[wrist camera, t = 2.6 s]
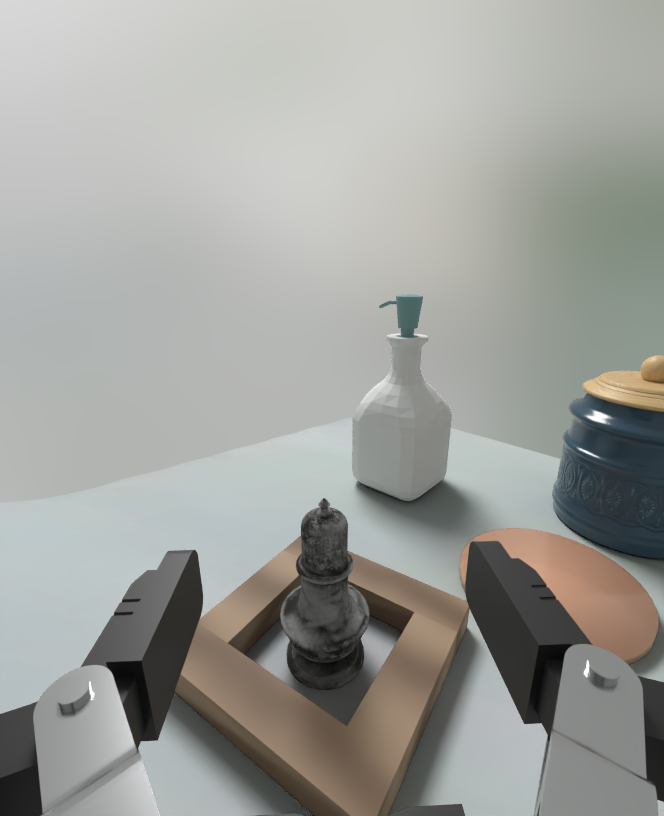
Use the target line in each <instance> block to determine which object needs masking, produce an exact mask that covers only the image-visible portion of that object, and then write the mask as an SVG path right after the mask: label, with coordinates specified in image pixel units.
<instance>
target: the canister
mask: <svg viewBox="0 0 664 816" xmlns="http://www.w3.org/2000/svg"><path fill="white" fill-rule="evenodd" d="M583 389H584V390H585V391H586V392H587V393H586V394H585V396H584V397H581V398H578V399H576V400H574V401H573V402H571V403H570V405H569V410H570V412H571V413H572V415H573V420H572V424H571V427H570V429H568V430H567V431H566V432H565V433H564V435H563V440H564V446H563V452H562V456H561V461H560V466H559V472H558V477H557V480H556V481H555V483H554V489H553V500H554V501H553V507H554V510H555V512H556V514H557V515H558V517H559V518H560V519H561V520H562V521H563V522H564V523H565V524H566V525H568V526H569V527H570V528H571V529H573V530H574V531H576V532H577V533H579V534H581V535H582V536H584V537H586V538H588V539H590V540H592V541H594V542H596V543H599V544H601V545H603V546H606V547H609V548H612V549H615V550H618V551H621V552H624V553H628V554H632V555H637V556H642V557H648V558H658V559H664V356H653V357H650V358H648V359H647V360H645V361H644V363H643V364H642V366H641V369H640V371H612V372H606V373H604V374H602V375H601V376H600V377H597V378H594V379H591V380H588V381H586V382H585V383H584V384H583Z"/></svg>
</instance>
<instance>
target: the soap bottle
mask: <svg viewBox="0 0 664 816" xmlns="http://www.w3.org/2000/svg"><path fill="white" fill-rule="evenodd" d="M396 297H397V301H388V302H386V303H384V304H382V305H380V308H382V307H385V306H387V305H389V304H397V314H398V327H399V328H401V334H390V335H387V341H388V342H389V343H390V344H391V346H392V361H391V369H390V372H389V374H388V376H387V377H386V378H385V379H384V380H383V381H382V382H380V383H379V384H378V385H376V386H375V387H374V388H373V389H371V391H369V392H368V393H367V395H366V396H365V397H364V399H363V400H362V402H361V403H360V405H359V406H358V408H357V410H356V412H355V414H354V416H353V452H352V470H353V474H354V476H355V478H356V479H357V480H358V481H359V482H361V483H362V484H364V485H366V486H369V487H371V488H374V489H376V490H378V491H381V492H383V493H386V494H388V495H391V496H393V497H395V498H398V499H400V500H404V501H412V500H414V499H416V498H418V497H420V496H421V495H423V494H424V493H425V492H426V491H428V490H429V489H430V488H432V487H433V486H434V485H436V484H437V483H438V482H440V481H441V480H442V479H444V476H445V474H446V469H447V458H448V448H449V438H450V428H451V411H450V409H449V407H448V405H447V403H446V401H444V399H443V398H442V397H441V396H440V395H439V394H438V392H437V391H436V390H435V389H434V388H433V387H432V386H431V385H429V384H428V383H427V382H426V381H425V380H424V379H423V377H422V375H421V371H420V361H421V347H422V346H423V344H425V343H426V342H427V341H428V336H426V335H420V334H414V328H417V327H418V321H419V315H420V310H421V305H422V299H423V296H419V295H400V296H396Z"/></svg>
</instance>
